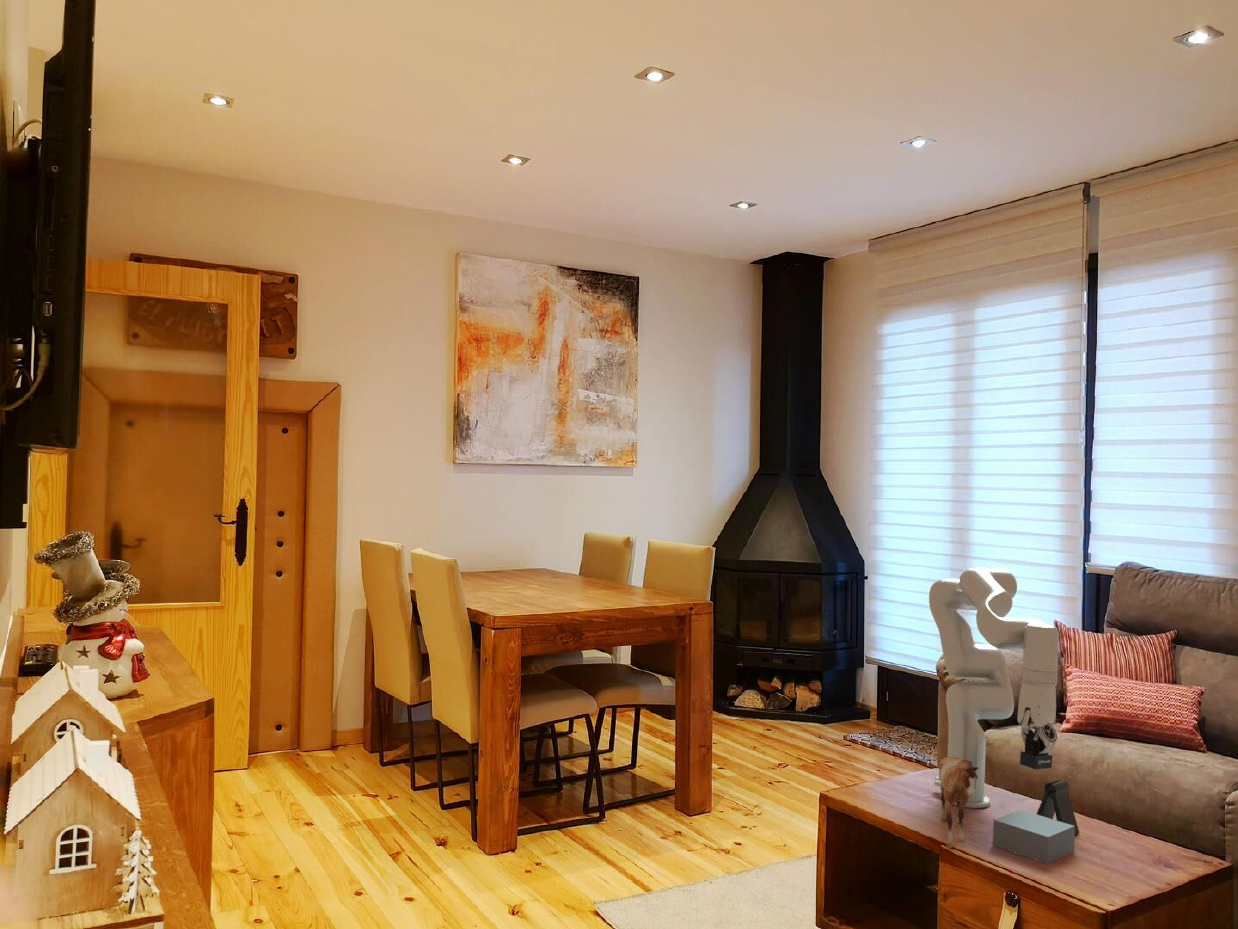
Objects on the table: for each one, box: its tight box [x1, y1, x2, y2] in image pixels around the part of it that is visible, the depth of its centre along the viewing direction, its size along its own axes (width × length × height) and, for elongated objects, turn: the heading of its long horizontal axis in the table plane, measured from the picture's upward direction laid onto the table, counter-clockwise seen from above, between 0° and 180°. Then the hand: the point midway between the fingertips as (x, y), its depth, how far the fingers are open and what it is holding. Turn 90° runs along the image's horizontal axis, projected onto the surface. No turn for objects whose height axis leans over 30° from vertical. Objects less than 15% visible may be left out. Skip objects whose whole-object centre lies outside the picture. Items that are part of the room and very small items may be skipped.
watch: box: [1019, 723, 1058, 770], centre depth 221 cm, size 6×8×11 cm
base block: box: [992, 809, 1075, 865], centre depth 221 cm, size 13×13×6 cm
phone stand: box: [1036, 779, 1080, 836], centre depth 234 cm, size 9×6×12 cm, turn 36°
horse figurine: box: [938, 756, 978, 849], centre depth 229 cm, size 31×8×21 cm, turn 162°
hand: (1036, 754), depth 221 cm, fingers closed on watch, 3 cm apart
